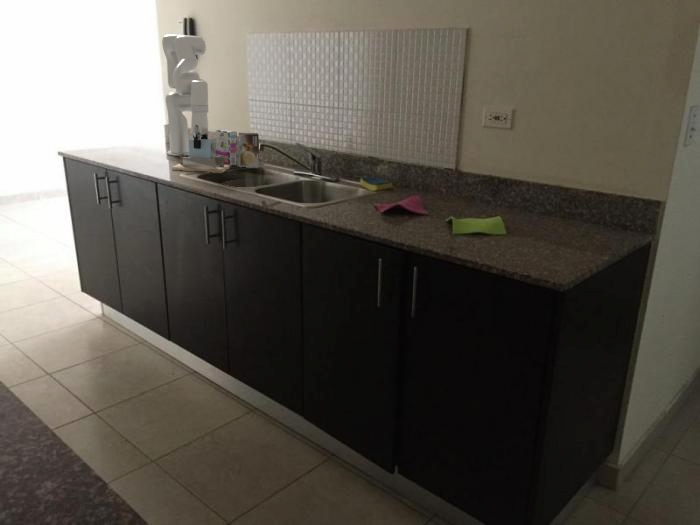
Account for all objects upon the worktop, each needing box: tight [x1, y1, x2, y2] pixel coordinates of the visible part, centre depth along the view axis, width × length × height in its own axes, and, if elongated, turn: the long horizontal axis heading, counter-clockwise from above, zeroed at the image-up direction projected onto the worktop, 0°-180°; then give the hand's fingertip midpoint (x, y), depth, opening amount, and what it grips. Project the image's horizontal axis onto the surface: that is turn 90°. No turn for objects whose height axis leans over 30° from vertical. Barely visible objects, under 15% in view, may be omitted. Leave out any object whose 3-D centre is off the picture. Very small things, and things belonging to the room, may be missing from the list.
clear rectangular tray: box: [171, 153, 232, 174], centre depth 274 cm, size 15×23×6 cm, turn 84°
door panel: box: [188, 138, 215, 159], centre depth 273 cm, size 4×11×12 cm, turn 84°
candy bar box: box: [215, 129, 238, 167], centre depth 287 cm, size 11×5×16 cm, turn 47°
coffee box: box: [238, 132, 260, 169], centre depth 284 cm, size 9×6×16 cm
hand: (200, 146), depth 273 cm, fingers open, 9 cm apart
